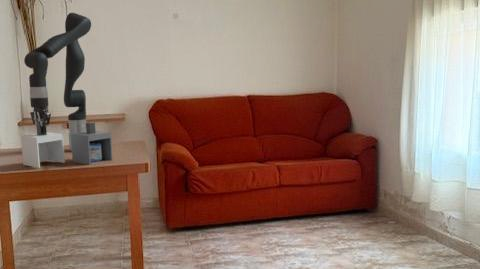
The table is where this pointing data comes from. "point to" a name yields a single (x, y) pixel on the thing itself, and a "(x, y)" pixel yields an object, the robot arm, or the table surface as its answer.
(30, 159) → the grey hood
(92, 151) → the medicine box
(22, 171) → the table surface
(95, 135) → the box
